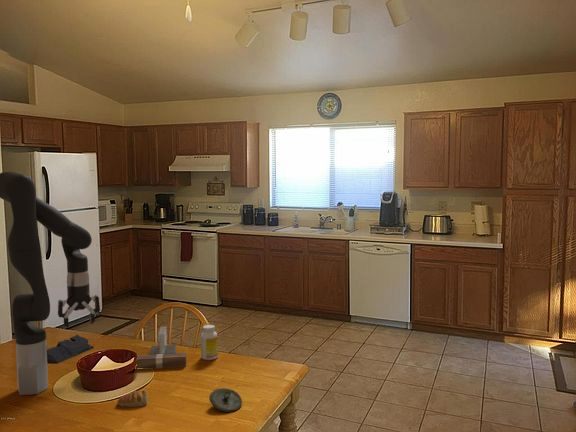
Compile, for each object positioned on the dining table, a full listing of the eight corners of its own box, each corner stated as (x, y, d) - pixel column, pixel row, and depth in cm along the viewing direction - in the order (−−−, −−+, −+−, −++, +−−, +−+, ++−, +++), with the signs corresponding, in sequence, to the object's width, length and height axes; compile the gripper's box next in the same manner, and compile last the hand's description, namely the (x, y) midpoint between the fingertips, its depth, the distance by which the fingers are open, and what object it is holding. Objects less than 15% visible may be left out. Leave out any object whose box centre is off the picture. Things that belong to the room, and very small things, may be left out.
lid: (227, 395, 163) (227, 381, 162) (248, 404, 157) (248, 389, 156) (203, 407, 155) (202, 392, 154) (224, 417, 148) (224, 401, 148)
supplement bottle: (221, 356, 198) (220, 325, 197) (210, 361, 193) (209, 330, 192) (208, 353, 202) (208, 323, 201) (197, 358, 196) (197, 327, 195)
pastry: (117, 410, 153) (117, 398, 153) (117, 401, 159) (117, 390, 159) (148, 405, 156) (148, 394, 156) (147, 397, 162) (147, 386, 162)
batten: (185, 366, 188) (185, 356, 188) (132, 370, 185) (131, 359, 184) (186, 362, 192) (186, 352, 192) (133, 365, 189) (133, 355, 188)
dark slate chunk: (28, 360, 196) (27, 349, 195) (70, 343, 216) (70, 332, 216) (56, 365, 190) (56, 354, 190) (97, 347, 211) (97, 336, 210)
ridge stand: (174, 357, 197) (173, 333, 196) (148, 359, 195) (148, 334, 195) (176, 349, 207) (175, 326, 206) (151, 350, 205) (151, 327, 204)
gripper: (58, 287, 173) (60, 331, 175) (100, 282, 181) (101, 325, 183) (55, 283, 179) (57, 325, 181) (96, 278, 187) (97, 319, 189)
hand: (79, 325), depth 182 cm, fingers open, 8 cm apart
